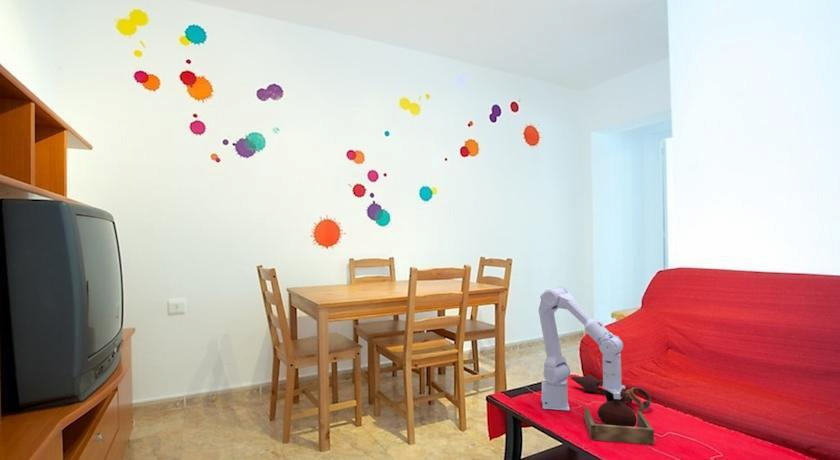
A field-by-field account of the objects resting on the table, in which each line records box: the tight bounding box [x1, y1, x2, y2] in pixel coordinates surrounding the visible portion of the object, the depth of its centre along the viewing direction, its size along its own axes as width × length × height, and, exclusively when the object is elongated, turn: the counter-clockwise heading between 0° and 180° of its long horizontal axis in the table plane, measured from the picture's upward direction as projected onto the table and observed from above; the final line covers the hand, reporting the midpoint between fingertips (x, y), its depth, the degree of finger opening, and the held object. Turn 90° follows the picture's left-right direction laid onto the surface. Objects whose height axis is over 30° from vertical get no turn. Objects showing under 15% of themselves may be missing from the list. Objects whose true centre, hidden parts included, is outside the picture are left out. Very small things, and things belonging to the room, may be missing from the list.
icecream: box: [570, 374, 605, 395], centre depth 176 cm, size 7×7×15 cm
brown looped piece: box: [619, 386, 652, 413], centre depth 159 cm, size 12×10×8 cm
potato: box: [597, 400, 637, 427], centre depth 142 cm, size 9×12×9 cm
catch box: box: [583, 407, 655, 446], centre depth 140 cm, size 18×14×4 cm
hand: (612, 412), depth 147 cm, fingers closed, pressing on potato
